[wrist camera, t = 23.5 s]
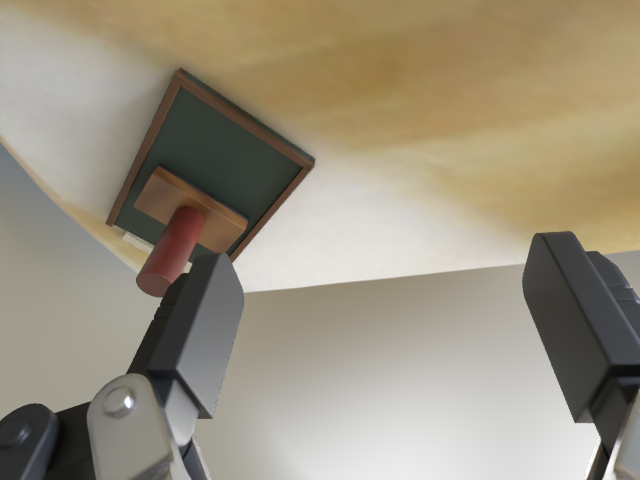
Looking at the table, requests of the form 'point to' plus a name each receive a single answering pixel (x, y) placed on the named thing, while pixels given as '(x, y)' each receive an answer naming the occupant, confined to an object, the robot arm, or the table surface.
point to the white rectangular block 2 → (187, 267)
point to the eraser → (182, 226)
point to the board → (212, 161)
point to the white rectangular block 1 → (138, 242)
